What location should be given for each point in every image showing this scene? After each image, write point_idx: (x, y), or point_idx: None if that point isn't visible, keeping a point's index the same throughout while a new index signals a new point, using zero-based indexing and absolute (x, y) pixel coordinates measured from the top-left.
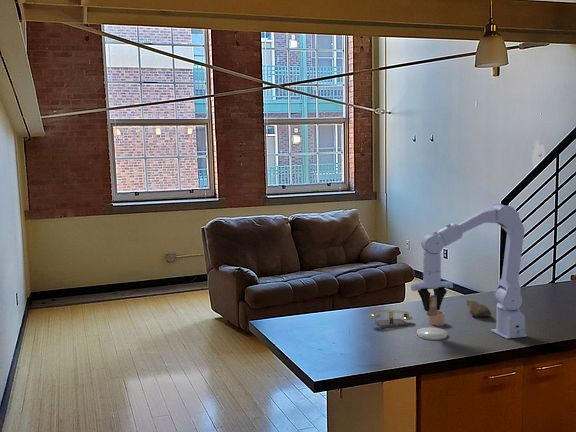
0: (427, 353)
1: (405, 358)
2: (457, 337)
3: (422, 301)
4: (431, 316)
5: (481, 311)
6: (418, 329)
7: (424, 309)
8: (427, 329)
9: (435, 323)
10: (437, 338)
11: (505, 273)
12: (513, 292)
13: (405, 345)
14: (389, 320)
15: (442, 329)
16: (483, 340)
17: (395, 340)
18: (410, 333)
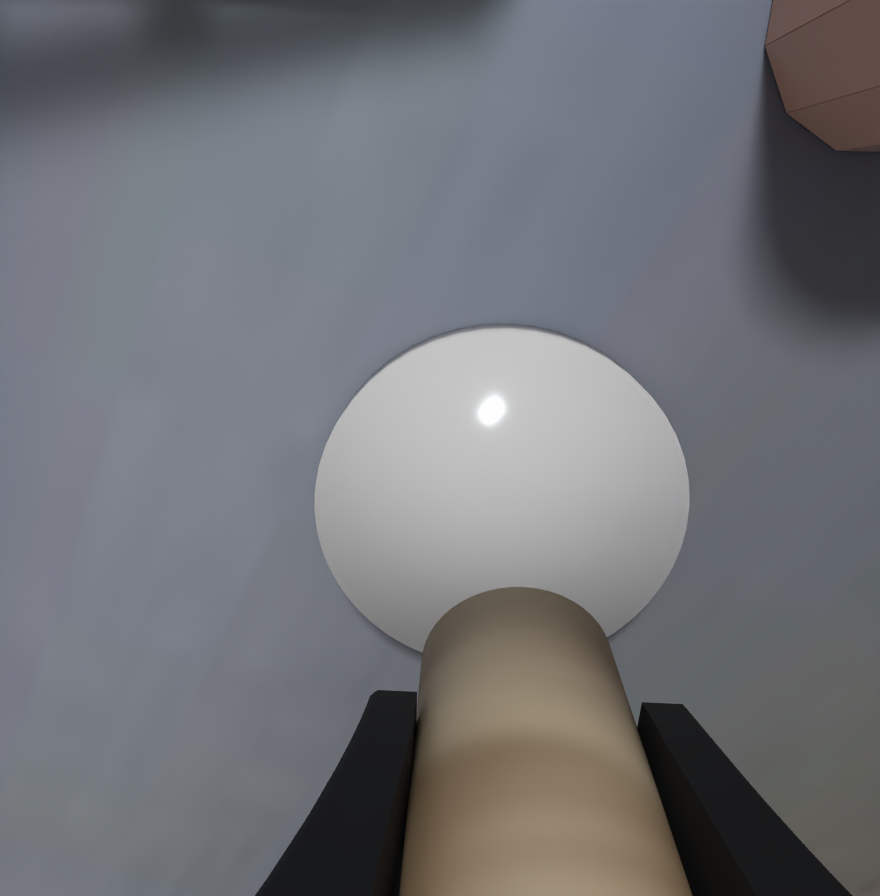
0: (220, 862)
1: (20, 886)
2: (711, 642)
3: (287, 861)
4: (853, 24)
5: None
6: (382, 375)
7: (369, 709)
8: (497, 417)
9: (820, 120)
10: None
11: None
12: None
13: (97, 670)
14: None
15: (680, 481)
16: (871, 780)
17: (31, 517)
18: (281, 348)
